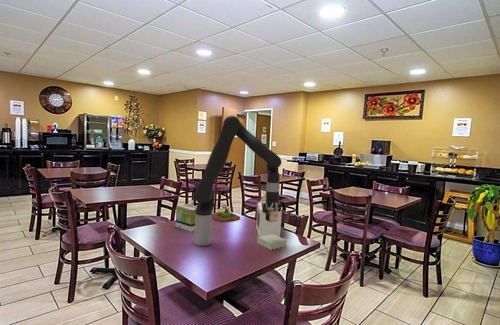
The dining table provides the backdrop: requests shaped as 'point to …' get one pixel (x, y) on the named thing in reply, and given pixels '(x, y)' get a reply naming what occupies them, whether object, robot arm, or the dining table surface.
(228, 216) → the plant
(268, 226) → the gable box
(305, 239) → the dining table surface
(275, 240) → the sage plinth
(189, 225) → the tea box
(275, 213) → the maple block
